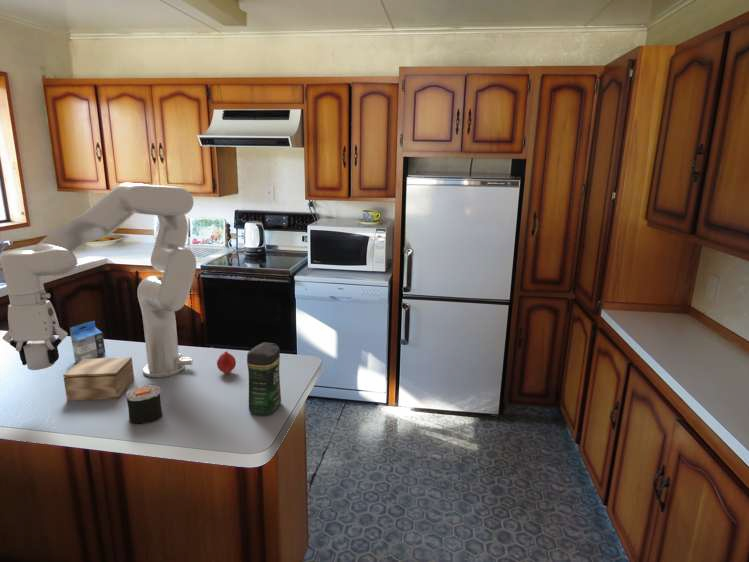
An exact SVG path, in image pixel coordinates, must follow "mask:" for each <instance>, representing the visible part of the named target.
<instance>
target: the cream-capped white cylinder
mask: <svg viewBox="0 0 749 562" xmlns="http://www.w3.org/2000/svg"><path fill="white" fill-rule="evenodd" d="M23 348H24V353H25V357H26V362H27V364H26V366H27V369H28V370H30V371H38V370H39V371H40V370H44V369H47V368H49V367H52V366H53V365H55V363H56V362H54V363H53V364H50V363H49V358H48V353H47V351H48V350H49V348H48V346H47V345H46V343H45V342H44V340H43V341H30V342H28V343H27V344H26V345H24V347H23Z"/></svg>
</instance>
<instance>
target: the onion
mask: <svg viewBox="0 0 749 562" xmlns="http://www.w3.org/2000/svg"><path fill="white" fill-rule="evenodd" d="M236 365H237V361H236V358H235V356H234V355H233V354H231V353H230V352H229V353H228V350H225V351H224V352H223V353H222V354H221V355H219V357H218V359H217V361H216V366H217V368H218V370H219V371H220V372H221V373H224V374H225V375H228V373H229V374H230V373H232V371H233V370H234V369H235V368H236Z"/></svg>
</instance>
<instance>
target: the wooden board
mask: <svg viewBox="0 0 749 562" xmlns="http://www.w3.org/2000/svg"><path fill="white" fill-rule="evenodd" d="M131 360H132V361H133V358H132V357H101V358H100V357H97V358H94V359H83V360H81V361H80V362H77V363H76V364H75V365H74V366H73V367H71V368H70V369H68V371H66V372H65V373H64V374H62V376H63V378H64V377H75V376H102V375H117V374H118V373H119V372H120V371H121V370H122V369H123V368H124V367H125V366H126V365H127V364H128V363H129V362H130V361H131Z"/></svg>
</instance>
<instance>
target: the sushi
mask: <svg viewBox="0 0 749 562" xmlns="http://www.w3.org/2000/svg"><path fill="white" fill-rule="evenodd" d="M161 392H162V391H161V388H160V386H158V385H156V384H155V385H154V384H151V385H150V384H148V385H143V386H141V387H136V388H134V389H133V388H132V389H131V390H128V391H126V393H125V394H126V395H125V397H126V404H127V410H128V421H129V423H130V424H131V425H137V426H138V425H145V424H150V423H154V422H157V421H159V420H160V419H161V418H162V417H163V410H162V400H161Z"/></svg>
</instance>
